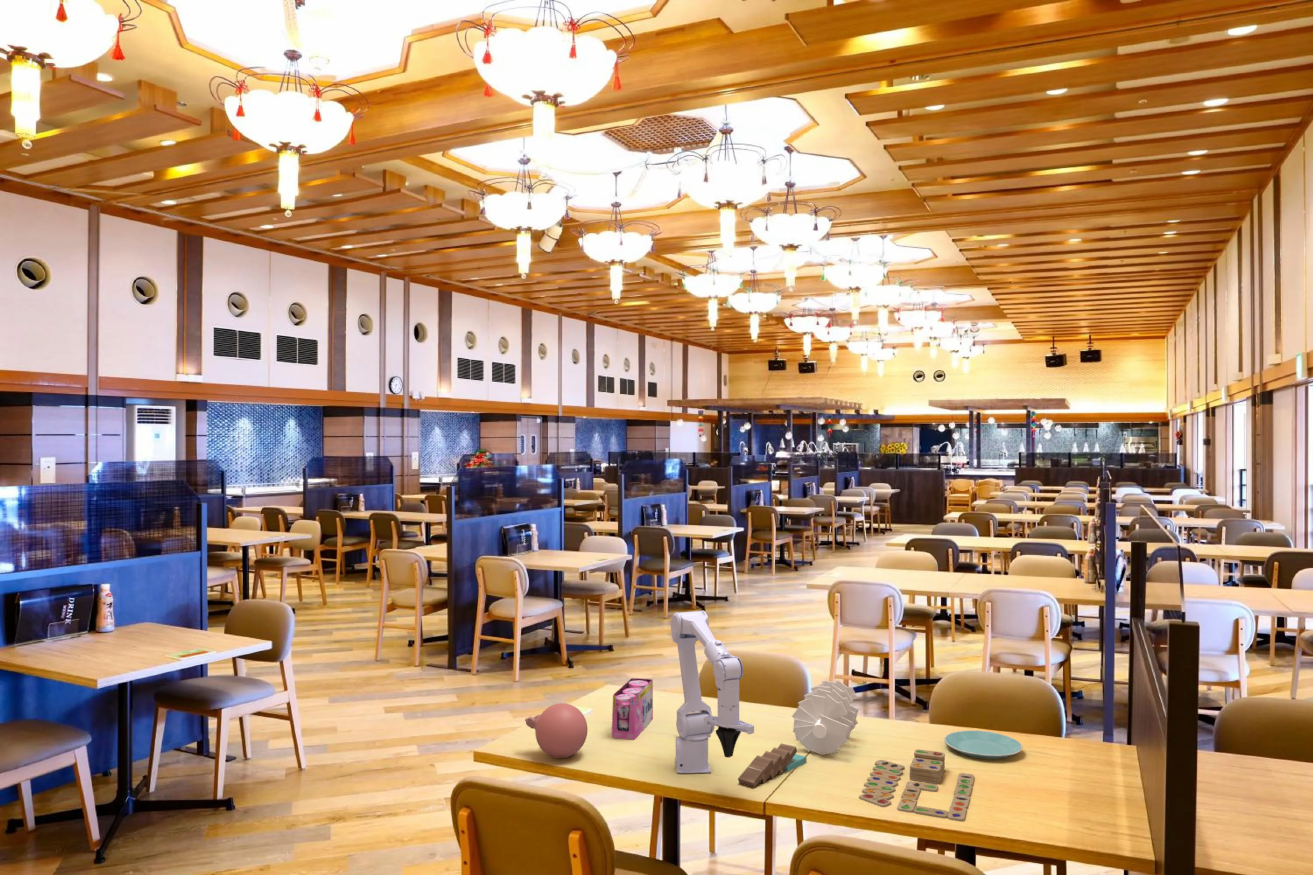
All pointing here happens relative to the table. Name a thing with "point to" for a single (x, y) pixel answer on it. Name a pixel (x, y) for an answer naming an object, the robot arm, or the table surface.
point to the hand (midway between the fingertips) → (728, 756)
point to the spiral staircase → (825, 717)
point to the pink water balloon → (559, 730)
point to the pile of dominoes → (917, 785)
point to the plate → (983, 744)
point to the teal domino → (795, 762)
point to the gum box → (632, 708)
